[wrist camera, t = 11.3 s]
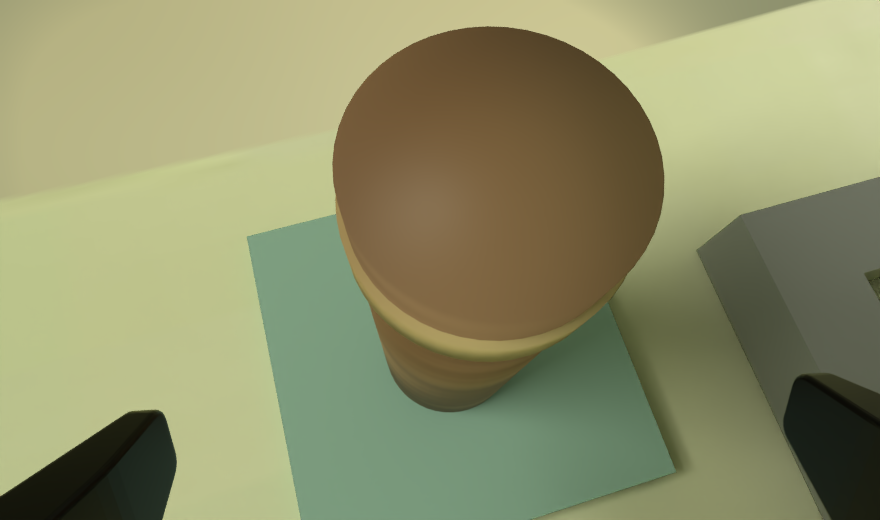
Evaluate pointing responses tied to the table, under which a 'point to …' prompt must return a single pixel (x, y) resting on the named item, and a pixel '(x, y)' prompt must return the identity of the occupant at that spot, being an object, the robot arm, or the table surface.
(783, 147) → the table surface
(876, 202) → the socket block
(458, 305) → the walnut peg
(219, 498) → the table surface
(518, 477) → the green mat
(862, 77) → the table surface
